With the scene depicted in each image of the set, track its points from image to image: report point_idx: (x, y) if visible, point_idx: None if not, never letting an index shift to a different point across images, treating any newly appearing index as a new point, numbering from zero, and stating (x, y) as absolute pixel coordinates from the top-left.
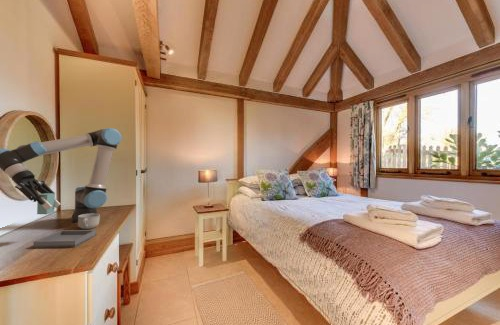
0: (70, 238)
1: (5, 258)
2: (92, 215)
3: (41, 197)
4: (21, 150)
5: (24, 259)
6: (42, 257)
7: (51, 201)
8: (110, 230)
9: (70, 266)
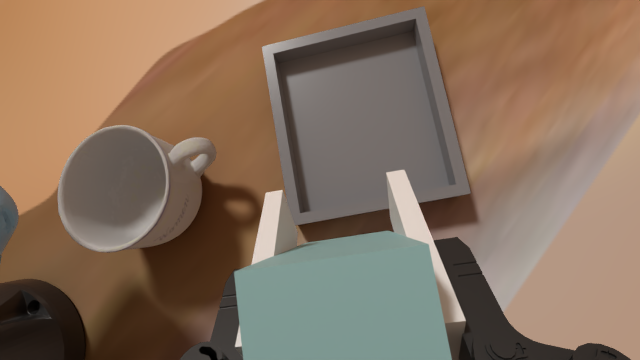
0: (348, 116)
1: (580, 194)
2: (76, 210)
3: (462, 321)
4: None
5: (569, 105)
6: (536, 54)
7: (331, 245)
8: (197, 53)
9: None
